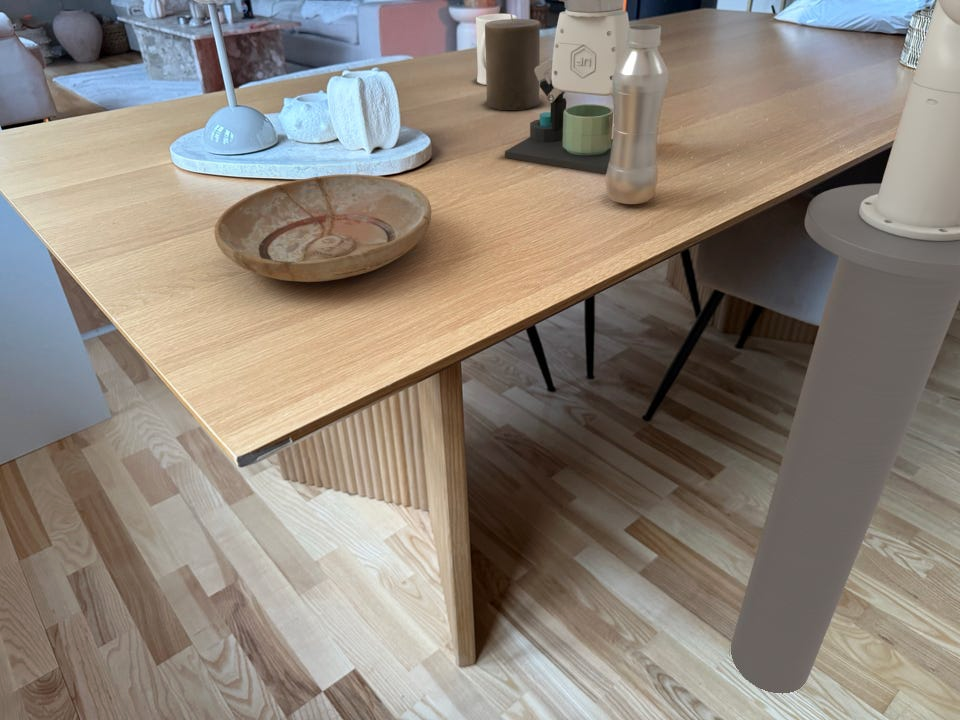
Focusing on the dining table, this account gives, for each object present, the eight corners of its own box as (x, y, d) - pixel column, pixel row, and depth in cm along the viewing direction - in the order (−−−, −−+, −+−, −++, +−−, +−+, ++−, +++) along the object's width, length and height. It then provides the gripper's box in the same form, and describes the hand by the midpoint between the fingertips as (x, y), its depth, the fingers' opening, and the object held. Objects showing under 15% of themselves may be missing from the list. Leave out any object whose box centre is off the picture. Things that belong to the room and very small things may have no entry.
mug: (499, 91, 137) (497, 24, 130) (461, 87, 141) (458, 22, 134) (525, 77, 146) (525, 14, 139) (489, 74, 149) (487, 12, 142)
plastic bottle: (603, 210, 86) (615, 33, 75) (603, 190, 91) (614, 22, 80) (657, 211, 85) (677, 32, 74) (653, 190, 90) (672, 21, 79)
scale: (637, 149, 105) (639, 129, 103) (604, 174, 96) (606, 152, 95) (541, 135, 112) (541, 116, 110) (503, 157, 104) (503, 137, 102)
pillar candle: (516, 114, 123) (515, 20, 114) (475, 105, 129) (472, 16, 120) (550, 102, 129) (552, 12, 120) (510, 94, 134) (509, 8, 126)
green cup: (618, 145, 103) (621, 107, 100) (598, 159, 98) (601, 119, 95) (575, 139, 106) (576, 102, 103) (554, 152, 102) (555, 114, 99)
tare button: (559, 124, 108) (559, 113, 107) (551, 129, 106) (552, 117, 105) (544, 122, 109) (544, 111, 108) (536, 127, 107) (536, 115, 106)
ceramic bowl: (177, 275, 75) (164, 232, 73) (322, 200, 92) (316, 163, 89) (343, 326, 65) (335, 278, 62) (473, 232, 82) (471, 191, 79)
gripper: (523, 2, 93) (524, 132, 102) (647, 7, 85) (635, 147, 94) (549, -5, 98) (547, 119, 108) (668, -2, 90) (655, 132, 100)
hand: (588, 132), depth 101 cm, fingers open, 9 cm apart
